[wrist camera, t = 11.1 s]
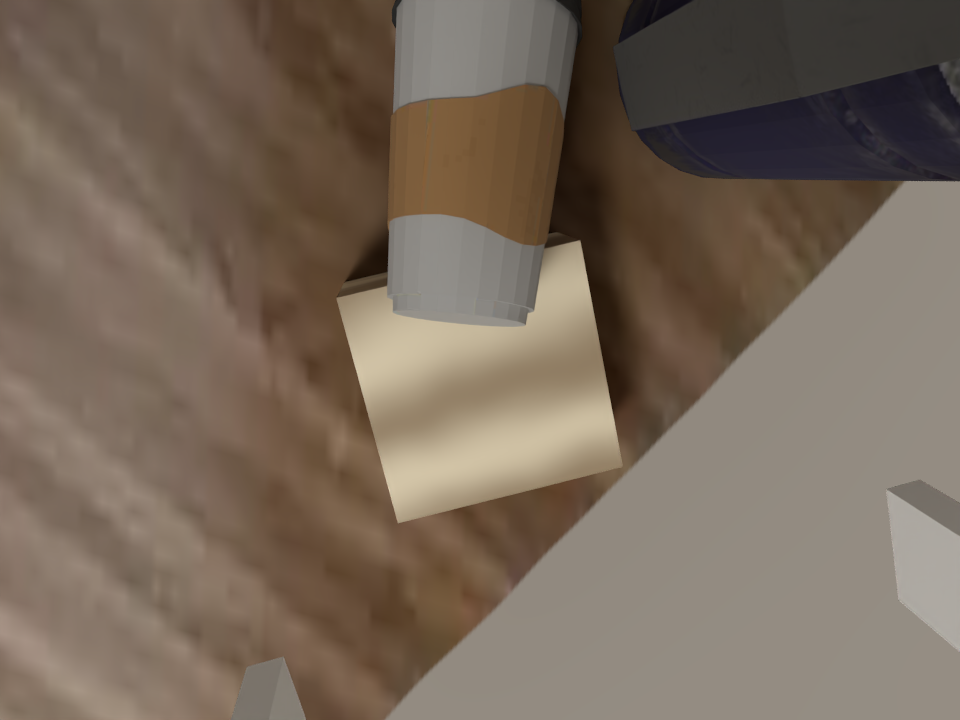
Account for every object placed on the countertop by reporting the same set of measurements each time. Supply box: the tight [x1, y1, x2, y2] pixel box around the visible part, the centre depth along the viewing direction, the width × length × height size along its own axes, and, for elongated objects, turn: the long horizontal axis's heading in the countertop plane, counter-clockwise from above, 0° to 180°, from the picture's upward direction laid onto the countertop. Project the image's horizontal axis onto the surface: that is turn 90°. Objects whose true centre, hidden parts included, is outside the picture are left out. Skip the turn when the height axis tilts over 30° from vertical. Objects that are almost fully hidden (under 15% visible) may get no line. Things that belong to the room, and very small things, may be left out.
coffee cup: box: [387, 0, 582, 327], centre depth 33 cm, size 8×8×15 cm
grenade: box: [613, 0, 960, 181], centre depth 27 cm, size 14×12×30 cm
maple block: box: [337, 232, 623, 523], centre depth 41 cm, size 12×12×6 cm
